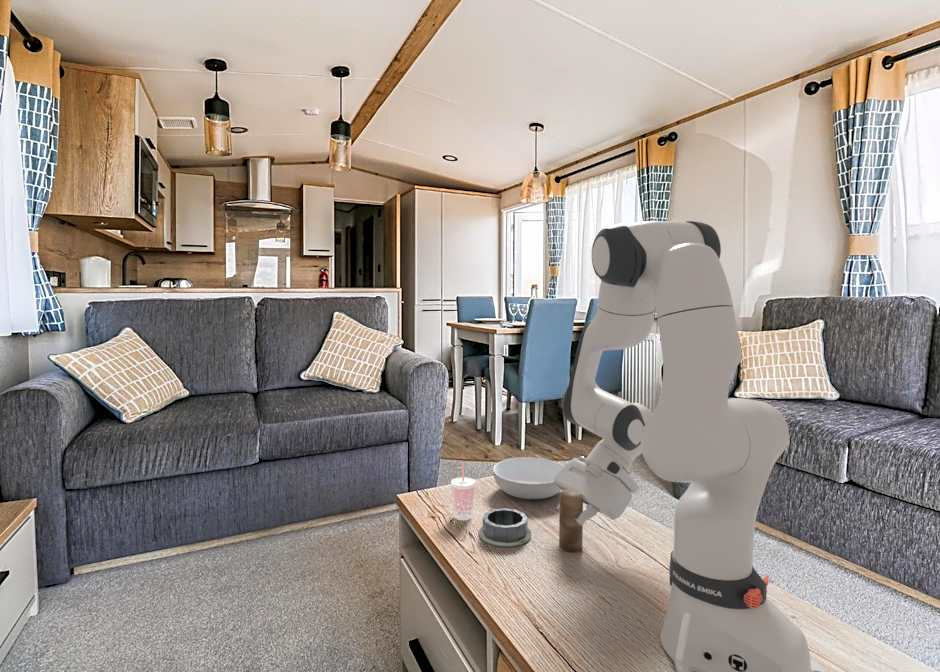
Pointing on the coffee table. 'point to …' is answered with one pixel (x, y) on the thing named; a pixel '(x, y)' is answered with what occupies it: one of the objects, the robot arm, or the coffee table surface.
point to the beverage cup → (463, 496)
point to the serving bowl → (527, 477)
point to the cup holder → (505, 528)
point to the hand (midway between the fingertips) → (568, 517)
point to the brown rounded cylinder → (570, 521)
